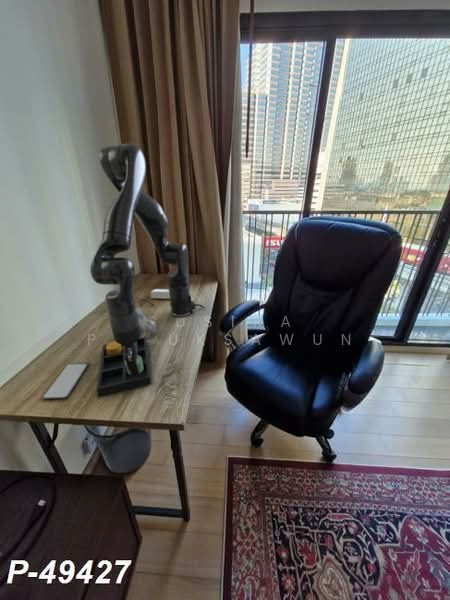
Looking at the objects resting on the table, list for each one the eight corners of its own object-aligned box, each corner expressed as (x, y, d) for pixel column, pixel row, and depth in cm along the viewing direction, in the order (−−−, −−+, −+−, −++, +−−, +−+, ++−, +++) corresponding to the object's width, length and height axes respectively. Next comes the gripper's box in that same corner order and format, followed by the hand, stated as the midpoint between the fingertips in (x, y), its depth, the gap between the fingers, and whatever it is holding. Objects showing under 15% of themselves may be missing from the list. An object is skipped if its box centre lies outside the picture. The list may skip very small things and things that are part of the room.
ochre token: (122, 348, 95) (120, 339, 93) (122, 356, 91) (120, 347, 89) (108, 351, 94) (106, 342, 92) (107, 359, 90) (105, 350, 88)
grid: (146, 342, 99) (145, 336, 98) (151, 383, 80) (149, 376, 79) (104, 351, 95) (103, 344, 94) (98, 396, 76) (96, 389, 74)
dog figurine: (140, 324, 111) (136, 303, 106) (158, 334, 104) (155, 312, 99) (129, 330, 107) (125, 308, 103) (148, 340, 100) (144, 318, 96)
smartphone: (88, 363, 88) (65, 397, 75) (88, 364, 88) (66, 398, 75) (68, 363, 88) (41, 398, 75) (68, 364, 88) (42, 399, 75)
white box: (178, 296, 138) (178, 282, 137) (175, 298, 131) (174, 284, 130) (155, 295, 139) (155, 281, 138) (151, 298, 132) (150, 283, 131)
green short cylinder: (143, 362, 83) (141, 353, 82) (143, 373, 79) (141, 363, 77) (127, 366, 82) (124, 356, 80) (127, 376, 78) (124, 367, 76)
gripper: (139, 335, 68) (148, 381, 76) (138, 310, 80) (146, 352, 88) (109, 340, 66) (122, 388, 73) (112, 314, 78) (123, 357, 86)
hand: (135, 368), depth 81 cm, fingers closed on green short cylinder, 5 cm apart
